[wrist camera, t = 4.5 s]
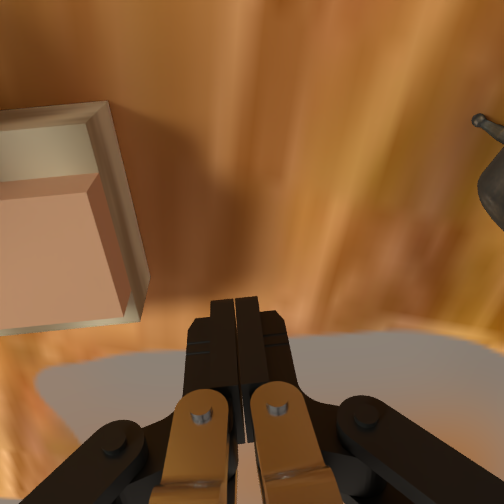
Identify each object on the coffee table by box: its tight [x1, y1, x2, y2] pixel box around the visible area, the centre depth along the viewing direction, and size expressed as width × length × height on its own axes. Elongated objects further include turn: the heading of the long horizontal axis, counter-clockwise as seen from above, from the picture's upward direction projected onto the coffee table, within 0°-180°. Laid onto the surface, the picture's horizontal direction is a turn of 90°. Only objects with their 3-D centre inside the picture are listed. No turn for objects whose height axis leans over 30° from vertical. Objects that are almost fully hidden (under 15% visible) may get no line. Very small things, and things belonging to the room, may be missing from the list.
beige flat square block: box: [0, 101, 151, 336], centre depth 21 cm, size 11×10×4 cm
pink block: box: [0, 173, 131, 330], centre depth 18 cm, size 9×6×2 cm, turn 94°
